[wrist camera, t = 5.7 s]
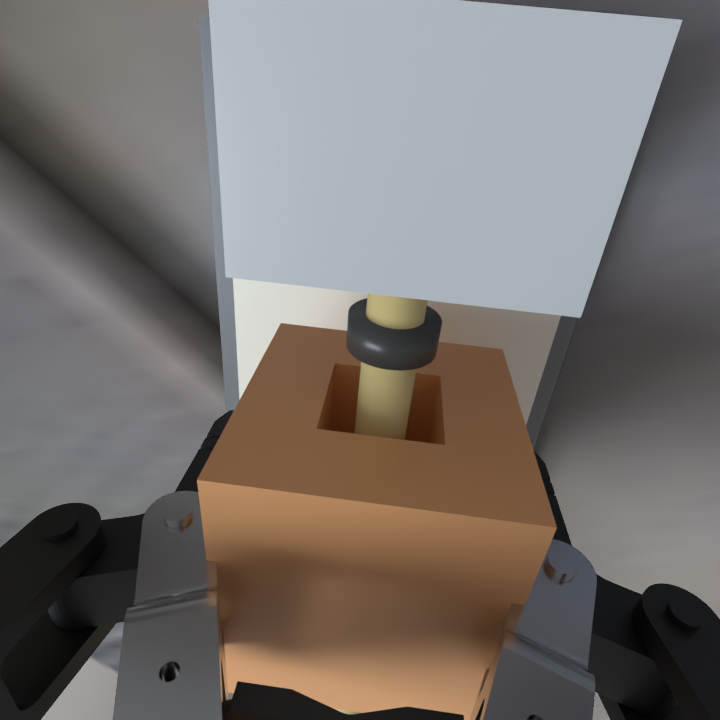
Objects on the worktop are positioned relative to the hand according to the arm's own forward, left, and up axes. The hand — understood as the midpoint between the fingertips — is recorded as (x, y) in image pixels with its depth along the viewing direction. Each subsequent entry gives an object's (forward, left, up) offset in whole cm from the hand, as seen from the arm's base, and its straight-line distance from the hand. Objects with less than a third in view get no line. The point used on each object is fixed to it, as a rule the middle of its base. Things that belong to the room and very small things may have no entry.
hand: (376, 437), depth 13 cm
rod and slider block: (+4, 0, -3) cm, 5 cm away
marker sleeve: (0, 0, 0) cm, 0 cm away
